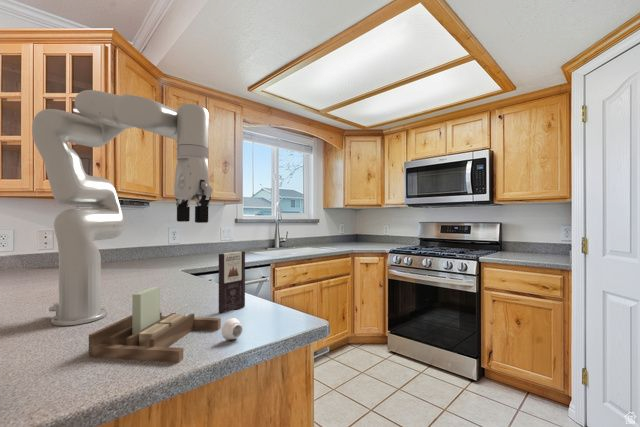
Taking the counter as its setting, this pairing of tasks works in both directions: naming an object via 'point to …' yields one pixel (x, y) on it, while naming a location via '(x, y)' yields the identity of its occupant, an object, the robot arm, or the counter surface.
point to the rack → (124, 345)
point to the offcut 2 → (173, 319)
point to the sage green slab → (145, 308)
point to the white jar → (231, 329)
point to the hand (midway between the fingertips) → (192, 222)
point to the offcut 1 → (151, 333)
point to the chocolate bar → (231, 281)
